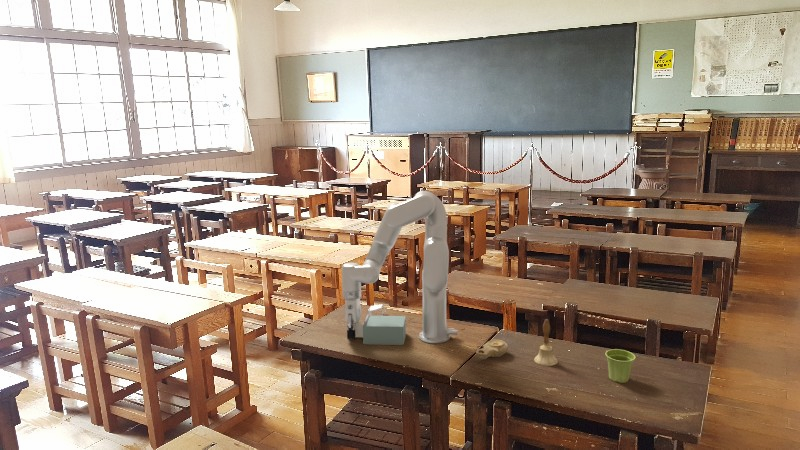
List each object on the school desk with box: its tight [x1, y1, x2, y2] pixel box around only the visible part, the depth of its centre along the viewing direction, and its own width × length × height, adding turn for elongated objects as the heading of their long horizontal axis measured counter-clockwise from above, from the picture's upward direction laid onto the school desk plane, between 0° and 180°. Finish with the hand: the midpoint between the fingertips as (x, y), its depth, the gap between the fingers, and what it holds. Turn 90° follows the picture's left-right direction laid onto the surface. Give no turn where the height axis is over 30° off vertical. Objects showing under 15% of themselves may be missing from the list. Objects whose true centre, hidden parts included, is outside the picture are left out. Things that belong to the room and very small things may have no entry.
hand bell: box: [533, 318, 558, 367], centre depth 200 cm, size 8×8×16 cm
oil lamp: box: [475, 339, 509, 359], centre depth 206 cm, size 11×14×5 cm
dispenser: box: [362, 313, 407, 346], centre depth 224 cm, size 16×12×8 cm
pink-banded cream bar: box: [351, 322, 364, 338], centre depth 225 cm, size 13×3×5 cm, turn 85°
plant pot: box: [604, 348, 636, 384], centre depth 186 cm, size 9×9×9 cm
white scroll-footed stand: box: [365, 303, 387, 318], centre depth 248 cm, size 12×8×5 cm
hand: (353, 334), depth 225 cm, fingers open, 8 cm apart
